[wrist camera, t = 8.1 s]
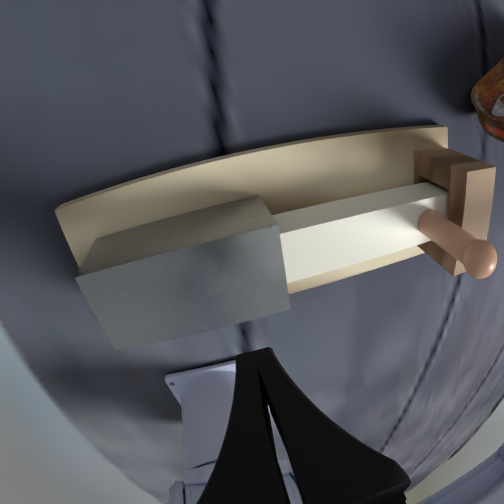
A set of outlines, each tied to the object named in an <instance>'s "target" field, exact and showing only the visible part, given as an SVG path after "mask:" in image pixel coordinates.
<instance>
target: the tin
mask: <svg viewBox="0 0 504 504" xmlns="http://www.w3.org/2000/svg"><path fill="white" fill-rule="evenodd" d="M471 101H472V103H473V105H474V106H475V109H476V112H477V115H478V119H479V121H480V124H481V126H482V128H483V129H484V130H485V132H486V133H487V134H489V135H490V136H492V137H494V138H495V139H497V140H500V141H502V142H504V57H503V58H502V59H501V60H500V61H499V62H498V63H497V64H496V65H495V66H494V67H493V68H492V69H491V70H490V71H489V72H488V73H486V74H485V75H484V76H483V77H482V78H481V79H480V80H479V81H478V82H477V83H476V84H475V85H474V87H473V89H472V91H471Z"/></svg>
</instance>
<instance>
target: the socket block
mask: <svg viewBox="0 0 504 504" xmlns="http://www.w3.org/2000/svg"><path fill="white" fill-rule="evenodd" d="M413 152H414V184H418V183H423V182H428V181H432V182H434V183H436V184H438V185H440V186H442V187H444V188H446V189H448V190H450V196H449V209H448V219H449V220H450V221H452V222H453V223H455V224H456V225H458V226H459V227H461V228H462V229H464V230H465V231H467V232H468V233H470V234H471V235H473V236H474V237H476V238H477V239H483V240H486V239H487V233H488V228H489V222H490V215H491V208H492V201H493V192H494V183H495V171H496V167H494V166H492V165H490V164H487V163H485V162H482V161H480V160H477V159H475V158H472V157H469V156H467V155H464V154H461V153H459V152H456V151H453V150H450V149H447V148H444V147H440V148H431V149H423V150H415V151H413ZM416 246H418V247H419V248H420V249H421V250H423V251H424V252H425V253H426V254H428V255H429V256H430V257H431V258H432V259H434V260H435V261H436V262H437V263H438V264H439V265H441V266H442V267H443V268H444V269H445V270H446V271H448V272H449V273H450V274H451V275H452V276H456V275H458V274H460V273H463V272H465V271H466V270H465V268H464V265H463V264H462V263H460V262H459V261H458V260H457V259H455V258H454V257H453V256H452V255H450V254H449V253H448V252H447V251H445V250H444V249H443V248H441V247H440V246H439V245H437V244H436V243H435V242H433V241H428V242H425V243H422V244H419V245H416Z"/></svg>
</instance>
